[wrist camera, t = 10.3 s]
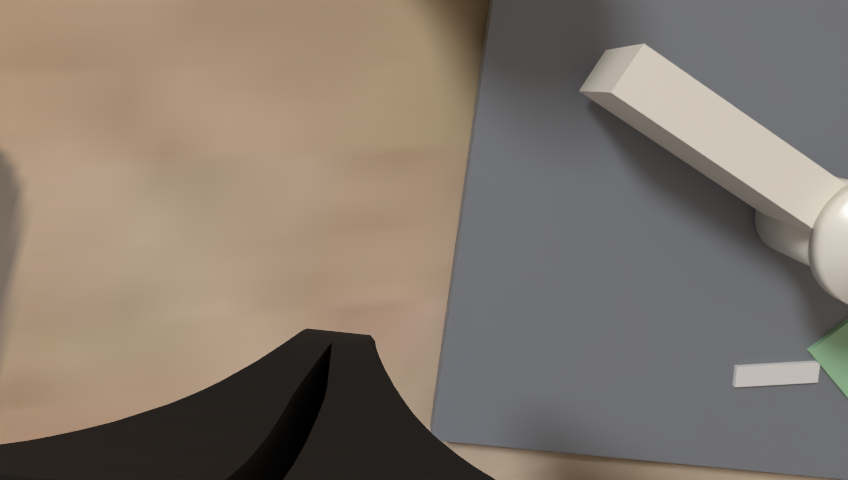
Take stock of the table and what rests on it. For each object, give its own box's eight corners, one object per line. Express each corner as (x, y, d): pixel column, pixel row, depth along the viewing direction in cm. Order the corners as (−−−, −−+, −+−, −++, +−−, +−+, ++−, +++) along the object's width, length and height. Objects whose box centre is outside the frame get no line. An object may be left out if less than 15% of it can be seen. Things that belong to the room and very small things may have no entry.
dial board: (969, 476, 24) (997, 496, 23) (430, 424, 23) (431, 442, 22) (1167, 4, 19) (1214, -1, 18) (502, -89, 18) (508, -100, 17)
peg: (975, 261, 20) (1113, 306, 16) (897, 349, 21) (1011, 411, 17) (624, 15, 18) (684, -4, 14) (552, 123, 19) (590, 135, 15)
